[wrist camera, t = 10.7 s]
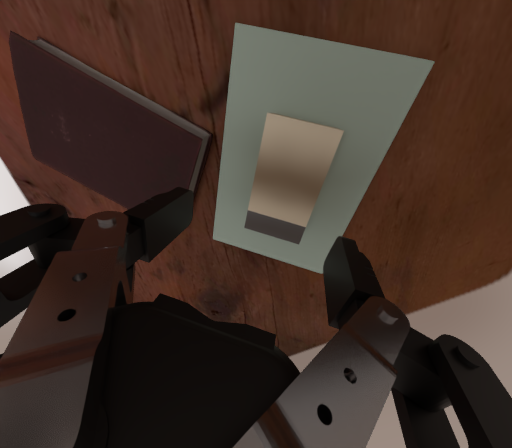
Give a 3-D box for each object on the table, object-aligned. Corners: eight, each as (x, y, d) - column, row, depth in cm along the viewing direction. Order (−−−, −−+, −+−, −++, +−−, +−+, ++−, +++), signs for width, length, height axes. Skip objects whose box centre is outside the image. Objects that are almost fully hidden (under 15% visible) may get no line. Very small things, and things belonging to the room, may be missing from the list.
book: (187, 226, 26) (173, 239, 23) (57, 155, 26) (26, 160, 23) (217, 134, 20) (202, 137, 17) (43, 37, 19) (-2, 23, 16)
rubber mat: (214, 236, 25) (212, 238, 25) (237, 25, 15) (235, 22, 14) (321, 270, 24) (321, 273, 23) (430, 63, 13) (434, 61, 13)
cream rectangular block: (273, 113, 16) (267, 112, 14) (338, 128, 16) (344, 130, 13) (252, 214, 22) (244, 227, 19) (300, 229, 21) (299, 244, 18)
